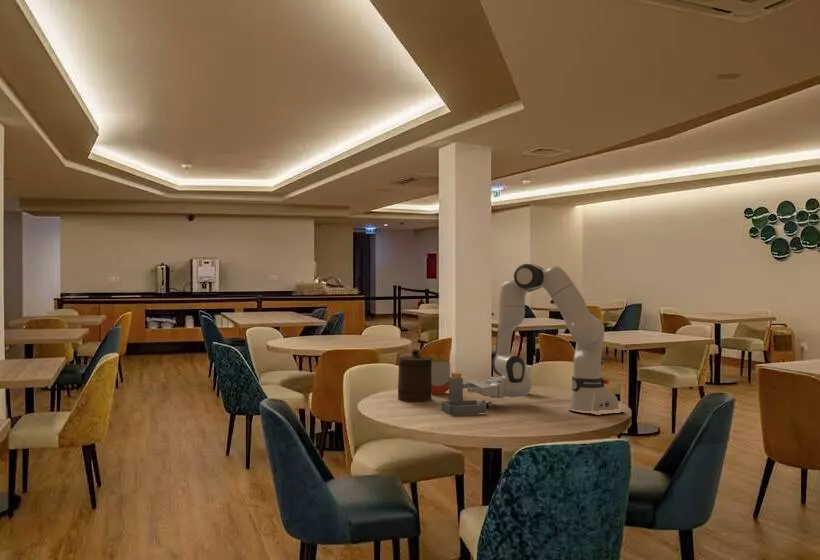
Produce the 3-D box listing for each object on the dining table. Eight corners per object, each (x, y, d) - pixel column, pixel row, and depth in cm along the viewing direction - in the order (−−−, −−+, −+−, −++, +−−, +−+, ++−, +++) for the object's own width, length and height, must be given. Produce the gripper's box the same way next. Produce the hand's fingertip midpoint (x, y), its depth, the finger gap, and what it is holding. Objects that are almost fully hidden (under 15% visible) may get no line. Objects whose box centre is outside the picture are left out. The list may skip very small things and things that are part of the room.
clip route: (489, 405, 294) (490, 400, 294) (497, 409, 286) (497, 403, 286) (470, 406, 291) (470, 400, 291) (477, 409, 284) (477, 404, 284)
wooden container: (417, 394, 316) (418, 346, 316) (438, 400, 304) (439, 350, 304) (391, 397, 307) (392, 348, 307) (411, 403, 295) (412, 351, 295)
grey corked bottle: (458, 405, 293) (459, 372, 293) (462, 407, 288) (463, 373, 288) (448, 405, 291) (449, 372, 291) (452, 407, 287) (453, 374, 287)
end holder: (475, 408, 286) (475, 400, 285) (486, 414, 275) (486, 405, 275) (441, 410, 281) (441, 401, 281) (450, 415, 271) (450, 406, 271)
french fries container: (427, 391, 325) (427, 353, 324) (450, 392, 323) (450, 354, 323) (425, 393, 320) (426, 354, 320) (448, 394, 318) (449, 355, 318)
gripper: (485, 376, 305) (456, 376, 301) (504, 383, 285) (473, 384, 281) (485, 390, 305) (455, 391, 301) (504, 398, 285) (472, 399, 281)
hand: (464, 388), depth 291 cm, fingers open, 8 cm apart
